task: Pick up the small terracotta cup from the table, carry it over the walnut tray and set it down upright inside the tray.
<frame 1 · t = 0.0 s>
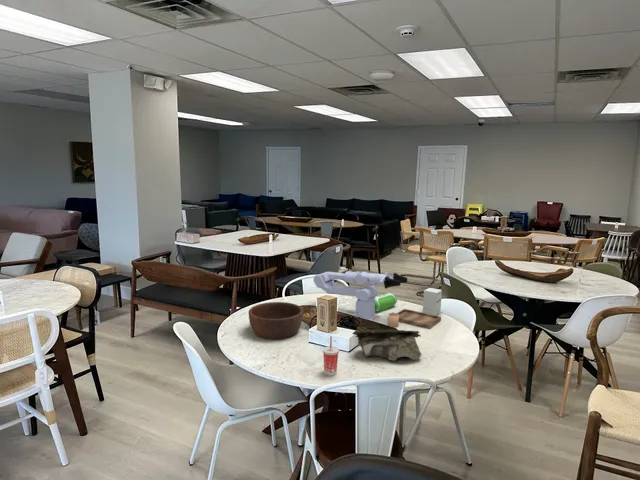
hand: (403, 281, 199), 22 cm above the table, tool horizontal, fingers open, 7 cm apart
wooden bowl: (276, 331, 193), on the table
terracotta cup: (393, 325, 202), on the table
mossy rock: (386, 356, 169), on the table
beverage cup: (330, 373, 154), on the table
speaker: (382, 309, 227), on the table
walnut tray: (416, 320, 210), on the table
supplement box: (431, 313, 221), on the table
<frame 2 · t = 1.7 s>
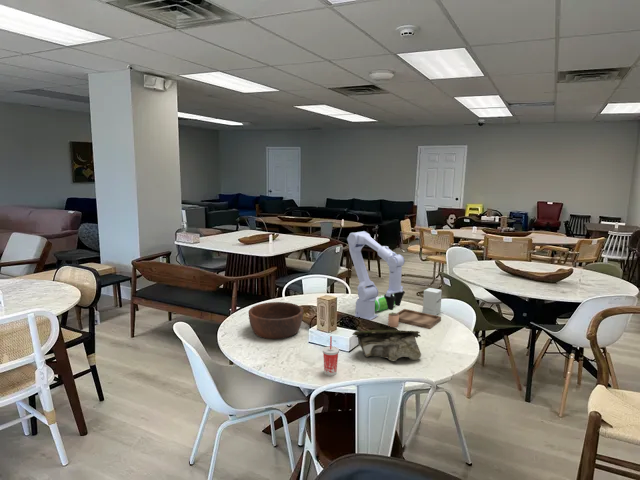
hand: (394, 307, 201), 9 cm above the table, tool pointing down, fingers open, 7 cm apart
nothing on the table moved.
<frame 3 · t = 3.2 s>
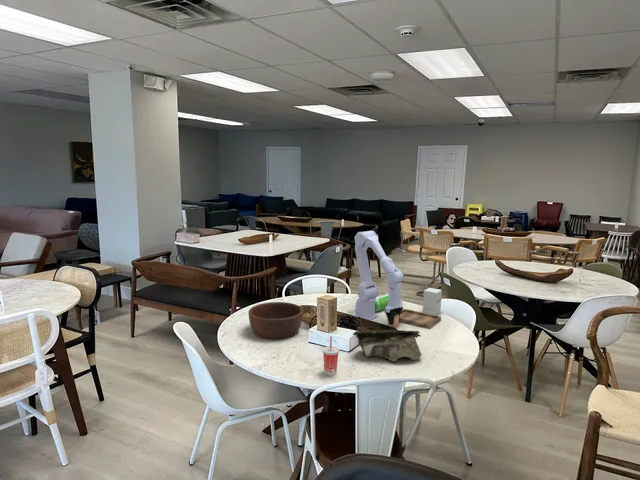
hand: (393, 322, 202), 1 cm above the table, tool pointing down, fingers closed on terracotta cup, 5 cm apart
terracotta cup: (393, 325, 202), on the table, touching gripper
everything else where it was.
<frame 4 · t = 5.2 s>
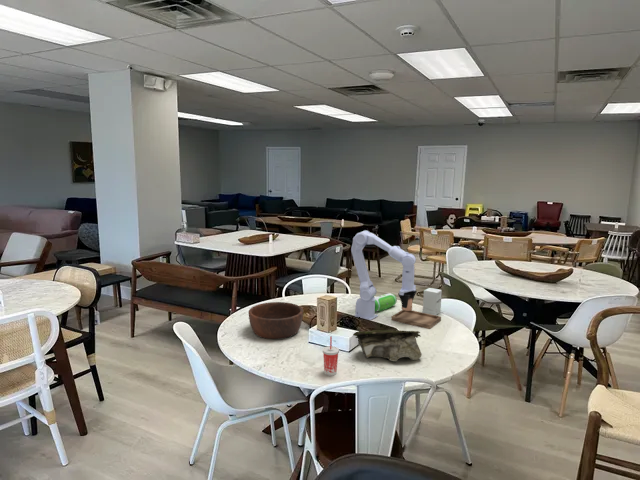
hand: (407, 306, 205), 8 cm above the table, tool pointing down, fingers closed on terracotta cup, 5 cm apart
terracotta cup: (406, 309, 205), point 7 cm above the table, touching gripper
everything else where it was.
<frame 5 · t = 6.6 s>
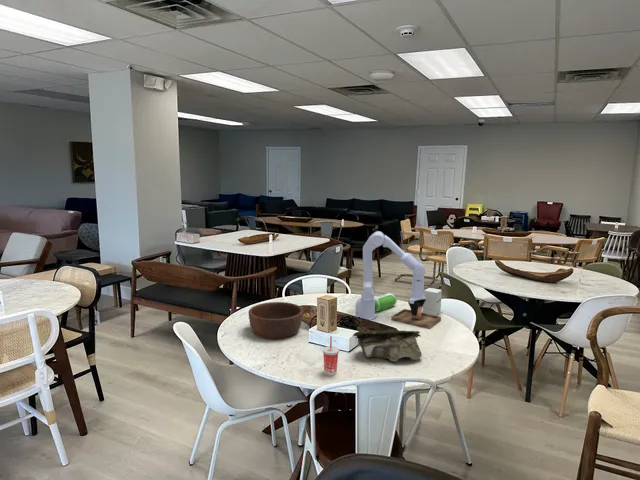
hand: (416, 313, 209), 3 cm above the table, tool pointing down, fingers closed on terracotta cup, 5 cm apart
terracotta cup: (416, 316, 209), point 2 cm above the table, touching gripper
everything else where it was.
when the fingers open (3 cm above the table, at t = 7.5 s): terracotta cup stays where it is, resting on walnut tray.
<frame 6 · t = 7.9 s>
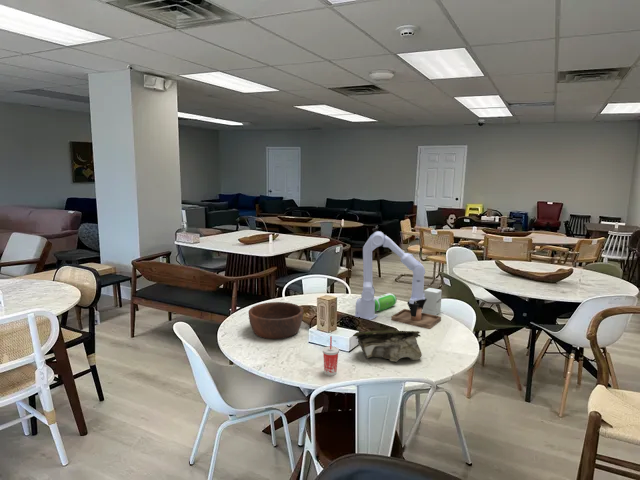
hand: (416, 314, 209), 3 cm above the table, tool pointing down, fingers open, 7 cm apart
terracotta cup: (416, 318, 209), point 1 cm above the table, touching walnut tray
everything else where it was.
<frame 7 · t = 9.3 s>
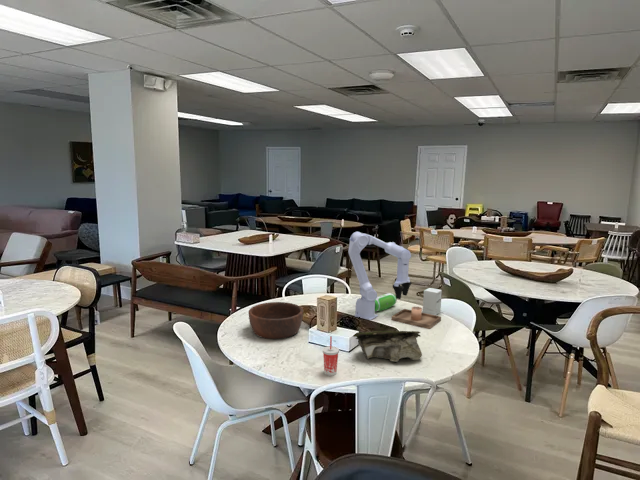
hand: (401, 297, 217), 9 cm above the table, tool pointing down, fingers open, 7 cm apart
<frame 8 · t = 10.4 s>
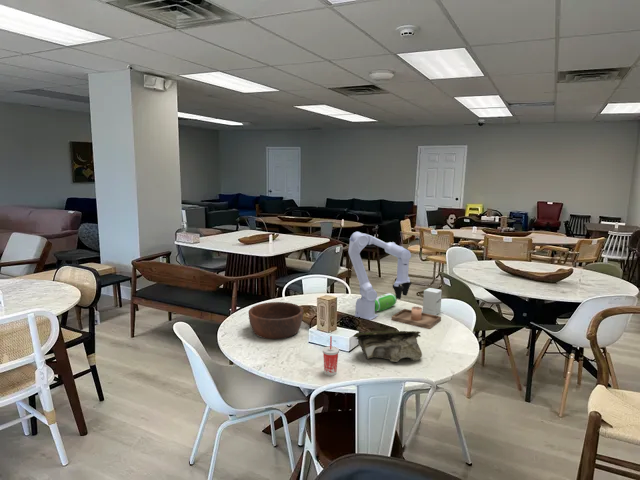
hand: (401, 297, 217), 9 cm above the table, tool pointing down, fingers open, 7 cm apart
at the end: terracotta cup inside the target area on the walnut tray (0.0 cm from its centre), point 0.8 cm above the walnut tray's base; terracotta cup tilted 1°; the gripper is holding nothing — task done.
